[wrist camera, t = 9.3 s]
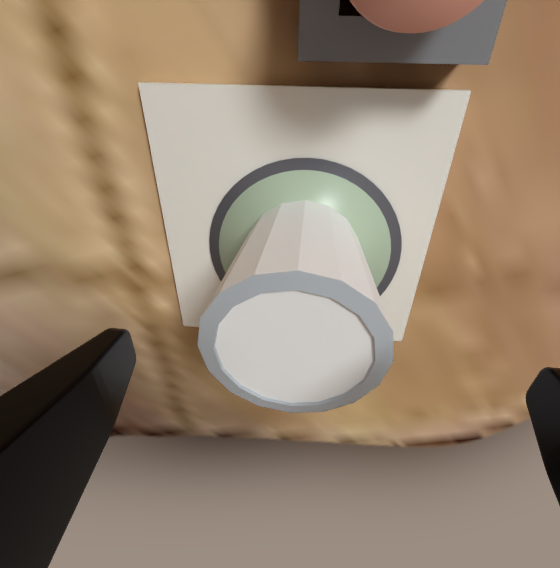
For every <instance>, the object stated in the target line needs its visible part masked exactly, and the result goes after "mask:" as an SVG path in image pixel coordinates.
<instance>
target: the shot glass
mask: <svg viewBox="0 0 560 568" xmlns="http://www.w3.org/2000/svg"><path fill="white" fill-rule="evenodd" d="M197 345H198V348H199V350H200V352H201V355H202V357H203V360H204V362H205V364H206V367H207V369H208V371H209V372H210V373H211V374H212V375H213V376H214V377H215V378H216V379H217V380H218V381H219V382H220V383H221V384H222V385H223V386H224V387H226V388H227V389H228V390H229V391H230V392H232V393H234V394H236V395H238V396H240V397H242V398H244V399H246V400H248V401H250V402H252V403H253V404H255V405H257V406H261V407H266V408H271V409H275V410H280V411H285V412H289V413H299V412H325V411H328V410H331V409H334V408H338V407H341V406H344V405H348V404H351V403H354V402H356V401H357V400H359V399H360V398H362V397H363V396H364V395H366V394H367V393H369V392H370V391H371V390H373V389H374V388H376V387H377V386H378V385H380V383H381V381H382V379H383V378H384V376H385V374H386V373H387V371H388V369H389V367H390V366H391V364H392V362H393V361H394V356H393V330H392V327H391V324H390V322H389V319H388V316H387V314H386V311H385V309H384V306H383V303H382V301H381V298H380V295H379V293H378V290H377V287H376V285H375V282H374V279H373V277H372V274H371V271H370V269H369V266H368V264H367V261H366V258H365V256H364V253H363V250H362V248H361V245H360V242H359V240H358V237H357V235H356V234H355V232H354V230H353V228H352V227H351V225H350V223H349V222H348V220H347V219H346V218H345V217H344V216H342V215H341V214H339V213H338V212H337V211H335V210H334V209H332V208H331V207H330V206H328V205H324V204H320V203H316V202H311V201H307V200H302V201H295V202H287V203H281V204H280V205H278V206H276V207H274V208H273V209H271V210H269V211H267V212H266V213H264V214H262V216H261V217H260V218H259V220H258V221H257V223H256V224H255V225H254V227H253V228H252V229H251V231H250V232H249V234H248V236H247V238H246V239H245V241H244V243H243V245H242V246H241V248H240V250H239V251H238V253H237V255H236V257H235V258H234V260H233V262H232V264H231V265H230V267H229V269H228V271H227V272H226V274H225V276H224V278H223V279H222V281H221V283H220V284H219V286H218V288H217V290H216V291H215V293H214V295H213V297H212V298H211V300H210V302H209V304H208V305H207V307H206V309H205V310H204V312H203V314H202V316H201V317H200V326H199V335H198V344H197Z"/></svg>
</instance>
